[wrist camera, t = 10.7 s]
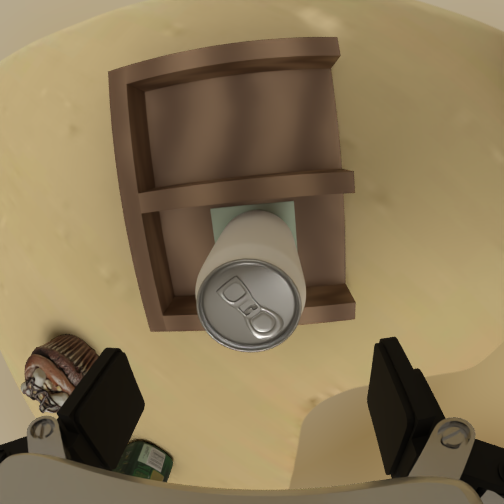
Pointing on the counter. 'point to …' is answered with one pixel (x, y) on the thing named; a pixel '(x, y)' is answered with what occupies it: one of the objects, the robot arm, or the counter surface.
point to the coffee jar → (145, 462)
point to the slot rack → (230, 166)
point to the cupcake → (56, 371)
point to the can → (251, 284)
